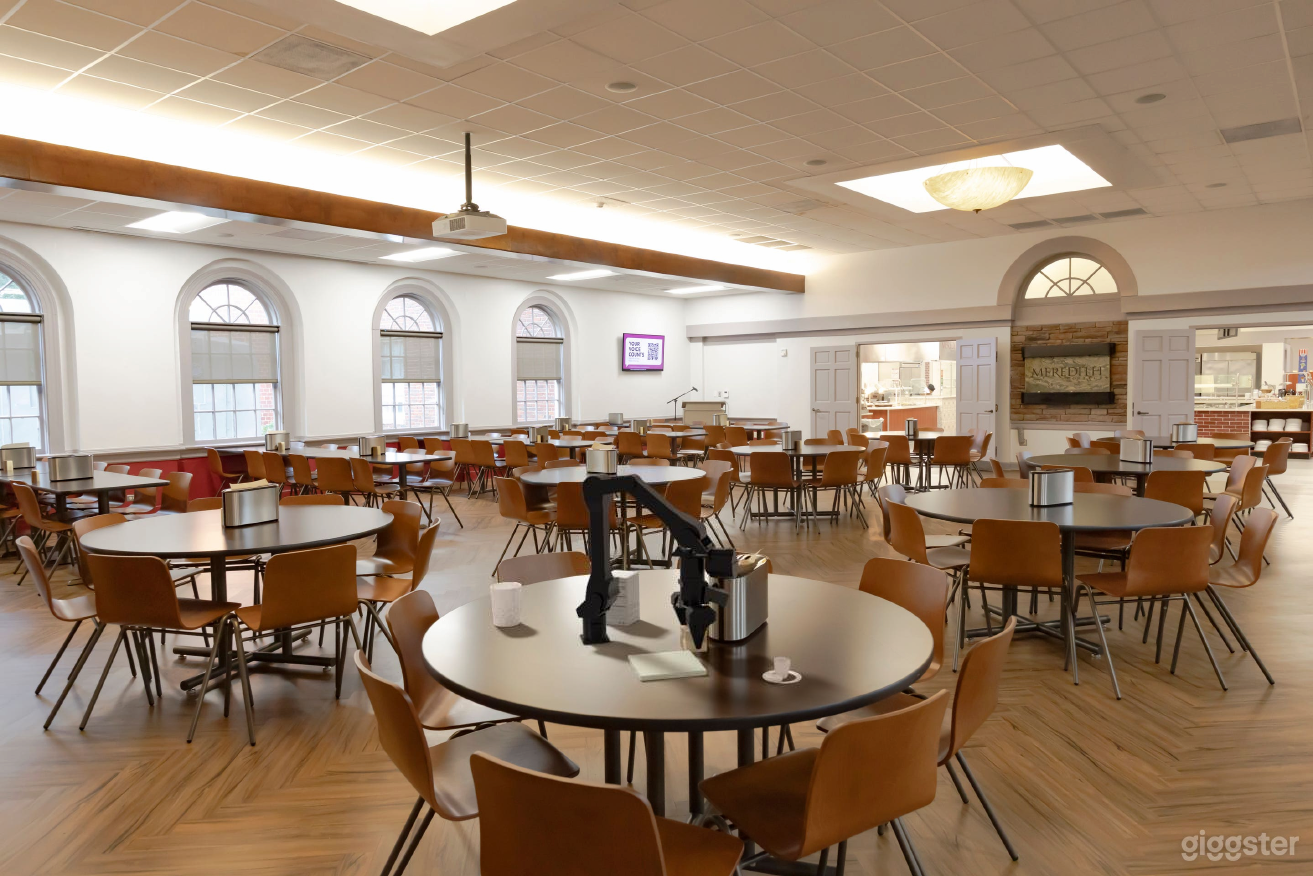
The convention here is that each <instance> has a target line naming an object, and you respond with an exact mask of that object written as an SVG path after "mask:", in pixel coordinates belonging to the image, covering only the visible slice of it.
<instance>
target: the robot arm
mask: <svg viewBox="0 0 1313 876" xmlns="http://www.w3.org/2000/svg"><path fill="white" fill-rule="evenodd" d="M581 493H582V498H583V502H584V505H585V506H586V510H587V511H588V515H589V517H588V518H589V545H590V546H589V547H590V575H589V578H588V581H587V584H586V588H585V589H586V590H585V597H584V600H583V601H582V602H581V603H580V604H579V605H578V606H577V608H575V612H576V615H577V617H578V619H582V620H581V621H582V633H581V634H579V638H580V640H581V642H582V644H585V645H586V644H597V643H598V644H599V643H609V642H611V639H610V637H609V635H608V632H607V624H606V613H605V612H607V611H609V610H610V608H611V605H612V604H613V603H614V602H615V601H616V600H617V597H618V594H620V590H619V577H613V575H612V570H611V545H610V544H611V542H610V541H611V540H610V537H611V536H610V509H611V505H612V504H613V503H612V502H613V500H614V494H618V493H628V494H629V495H630V496H632V498H634V499H635V500H636V501H637V502H638V503H640V504H641V505H642V506H643V507H644V508H645V509H647V510H648V511H649V512H650V513H651V514H652V515H654V516H655V517H656V518H658V520H660V521H661V522H662V523H663V524H664V526H666V528H667V530H668V531H669V534H670V535H671V537H673V539H674V540H675V541H676V542H677V544H678V545H677V546H676V548H675V549H674V550H673V551H672V552H671V553H670V557H674V558H675V557H676V558H679V578H677V584H678V585H679V590H678V591H674V592H673V593H672V594H671V595H670V604H671V605H672V609H673V611H674V613H675V615H676V617H677V620H678V622H679V624H680V625H679V626H681V625H687V626H688V628H689V631H690V634H691V637H692V639H693V642H694V645H695V647H696V649H701V647H702V643H703V640H704V636H705V632H706V630H707V629H708V628H709V626H711V625H713V624H714V623H715V622H717V612H716V610H715V609H713V608H712V607H711V606H710V603H712V604H716V605H719V606H720V607H723V608H726V607H727V606H728V602H729V600H730V596H731V593H729V592H728V591H727V590H726V589H725V590H724V588H721V585H720V583H719V582H716V581H712V580H711V582H710V583H709V582H708V581H707V580H706V574H707V575H709V577H710V578H719V579H734V580H735V579H737V576H738V573H739V560H738V555H737V553H736V548H735V547H727V548H725V547H717V546H716V544H715V543H714V541H713V540H712V539H711V537H710V536H709V534H708V532H707V531H708V530H707V527H706V525H705V524H704V523H703V522H702V521H701V520H699V519H697V518H695V517H694V516H692V515H691V514H688V513H686V512H683V511H681V510H679V509H678V508H676V507H675V506H674V505H673V504H671V503H670V502H669V501H668V500H667V499H665V498H664V497H663V496H662V495H661V494H659V492H657V491H656V489H654V488H652V487H651V486H650V485H649V484H648V483H646V482H645V480H643V479H642V477H641V476H640V475H638V474H637V473H631V474H626V475H614V476H610V475H609V474H607V473H603V472H602V473H598V474H594V475H590V476H587V477H586V478H585V479H584V480H583V481H582V482H581Z"/></svg>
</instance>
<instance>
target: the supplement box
mask: <svg viewBox="0 0 1313 876" xmlns="http://www.w3.org/2000/svg"><path fill="white" fill-rule="evenodd" d="M611 572H612V575H613V577H619V590H620V594H618V597H617V600H616V601H615V602H614V603H613V604H612V605H611V608H610V610H609V611H607V612H605V613H606V625H612V626H622V627H629V626H630V625H633V623H636V622H637V621H638V620H640V619H641V617H640V616H641V613H640V612H641V611H640V609H641V608H640V607H641V606H640V573H639V571H635V570H634V571H632V570H619V569H613V570H611Z"/></svg>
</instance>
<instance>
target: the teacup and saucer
mask: <svg viewBox="0 0 1313 876" xmlns="http://www.w3.org/2000/svg"><path fill="white" fill-rule="evenodd" d="M791 663H792V662H791V659H790V658H788V657H784V656H778V657H776V656H775V657H774V658H773V665H774V666H773V668H774V669H773V670H769V671H766V672H764V673H762V678H763V679H764V680H765V681H767V682H770V683H774V684H794V683H798V682H800V681H801V680H802V675H801V674H799V673H798V672H796V671H792V670H790V667H791ZM788 674H791V675H793V676H795V679H792V680H790V681H783V680H784V679H787V677H788Z"/></svg>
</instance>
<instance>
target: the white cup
mask: <svg viewBox="0 0 1313 876" xmlns="http://www.w3.org/2000/svg"><path fill="white" fill-rule="evenodd" d="M490 600H491V609H492V610H491V613H492V618H493V622H492V623H493V625H494V626H495V627H498V628H509V627H515V626H518V625H520V623H521V613H522V583H520V582H514V581H512V582H511V581H505V582H504V581H503V582H497V583H494V584H491V585H490Z"/></svg>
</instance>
